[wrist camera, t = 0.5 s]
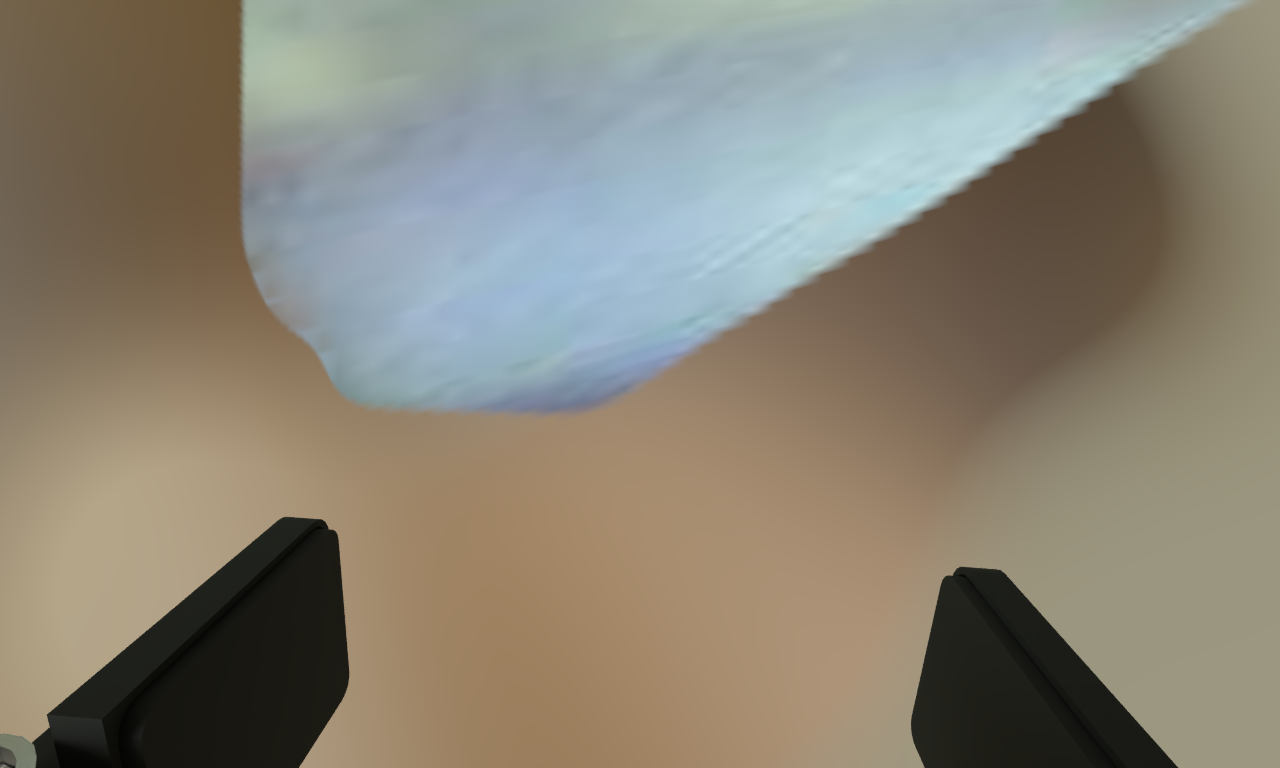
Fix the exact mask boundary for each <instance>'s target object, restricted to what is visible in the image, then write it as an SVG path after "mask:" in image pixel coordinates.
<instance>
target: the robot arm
mask: <svg viewBox="0 0 1280 768" xmlns="http://www.w3.org/2000/svg"><path fill="white" fill-rule="evenodd" d="M348 681H349V663H348V652H347V638H346V626H345V615H344V602H343V590H342V577H341V565H340V552H339V540H338V535H337V533H336V531H334V530H329V529H328V526H327V524H326V522H325V521H323V520H321V519H307V518H295V517H283V518H281V519H280V520H278V521H277V522H276V523H275V524H273V525H272V526H271V527H270V528H269V529H268V530H266V531H265V532H264V533H263V534H261V535H260V536H259V537H258V538H257V539H256V540H254V541H253V542H252V543H251V544H250V545H248V546H247V547H246V548H245V549H244V550H242V551H241V552H240V553H239V554H238V555H237V556H235V557H234V558H233V559H232V560H231V561H229V562H228V563H227V564H226V565H225V566H223V567H222V568H221V569H220V570H219V571H217V572H216V573H215V574H214V575H213V576H211V577H210V578H209V579H208V580H207V581H206V582H204V583H203V584H202V585H201V586H200V587H198V588H197V589H196V590H195V591H194V592H192V593H191V594H190V595H189V596H188V597H187V598H185V599H184V600H183V601H182V602H181V603H179V605H177V606H176V607H175V608H173V609H172V610H171V611H170V612H169V613H168V614H166V615H165V616H164V617H163V618H162V619H161V620H159V621H158V622H157V623H156V624H155V625H153V626H152V627H151V628H150V629H149V630H147V631H146V632H145V633H144V634H142V635H141V636H140V637H139V638H138V639H137V640H136V641H134V642H133V643H132V644H131V645H129V646H128V647H127V648H126V649H125V650H123V651H122V652H121V653H120V654H119V655H117V656H116V657H115V658H114V659H113V660H112V661H110V662H109V663H108V664H107V665H106V666H105V667H103V668H102V669H101V670H100V671H98V672H97V673H96V674H95V675H94V676H93V677H91V679H89V680H88V681H87V682H85V683H84V684H83V685H82V686H81V687H80V688H78V689H77V690H76V691H75V692H74V693H72V694H71V695H70V696H69V697H68V698H66V699H65V700H64V701H63V702H62V703H60V704H59V705H58V706H57V707H56V708H54V709H53V710H52V711H51V712H50V713H48V714H47V717H48V722H49V726H50V728H48V729H47V730H46V731H45V732H44V733H43V734H42V735H41V736H39V737H38V738H37V739H36V740H35V741H34V742H32V743H31V742H29V741H28V740H27V739H25V738H24V737H22V736H15V735H10V734H0V768H299V766H300V765H301V763H302V762H303V760H304V759H305V757H306V756H307V754H308V753H309V751H310V749H311V748H312V746H313V745H314V743H315V742H316V740H317V739H318V737H319V735H320V734H321V732H322V731H323V729H324V728H325V726H326V724H327V723H328V721H329V720H330V718H331V717H332V715H333V714H334V712H335V710H336V709H337V707H338V705H339V704H340V703H341V701H342V699H343V697H344V695H345V693H346V690H347V686H348ZM911 730H912V736H913V741H914V744H915V747H916V749H917V751H918V753H919V756H920V758H921V760H922V762H923V765H924V767H925V768H1178V767H1177V766H1176V765H1175V764H1174V763H1173V761H1172V760H1171V759H1170V758H1169V757H1168V756H1167V755H1166V754H1165V753H1164V751H1163V750H1162V749H1161V748H1160V747H1159V746H1158V745H1157V743H1156V742H1155V741H1154V740H1153V739H1152V738H1151V737H1150V736H1149V734H1148V733H1147V732H1146V731H1145V730H1144V729H1143V728H1142V727H1141V726H1140V724H1139V723H1138V722H1137V721H1136V720H1135V719H1134V718H1133V717H1132V716H1131V714H1130V713H1129V712H1128V711H1127V710H1126V709H1125V708H1124V707H1123V705H1122V704H1121V703H1120V702H1119V701H1118V700H1117V699H1116V698H1115V696H1114V695H1113V694H1112V693H1111V692H1110V691H1109V690H1108V689H1107V687H1106V686H1105V685H1104V684H1103V683H1102V682H1101V681H1100V680H1099V679H1098V677H1097V676H1096V675H1095V674H1094V673H1093V672H1092V671H1091V670H1090V668H1089V667H1088V666H1087V665H1086V664H1085V663H1084V662H1083V661H1082V659H1081V658H1080V657H1079V656H1078V655H1077V654H1076V653H1075V652H1074V651H1073V649H1072V648H1071V647H1070V646H1069V645H1068V644H1067V643H1066V642H1065V640H1064V639H1063V638H1062V637H1061V636H1060V635H1059V634H1058V633H1057V631H1056V630H1055V629H1054V628H1053V627H1052V626H1051V625H1050V624H1049V622H1048V621H1047V620H1046V619H1045V618H1044V617H1043V616H1042V615H1041V613H1040V612H1039V611H1038V610H1037V609H1036V608H1035V607H1034V606H1033V605H1032V603H1031V602H1030V601H1029V600H1028V599H1027V598H1026V597H1025V596H1024V595H1023V593H1022V592H1021V591H1020V590H1019V589H1018V588H1017V587H1016V585H1015V584H1014V583H1013V582H1012V581H1011V580H1010V579H1009V578H1008V577H1007V575H1006V574H1005V573H1003V572H1002V571H1001V570H996V569H983V568H970V567H959V568H957V569H956V571H955V572H954V574H953V576H946V577H945V578H944V579H943V580H942V583H941V587H940V592H939V596H938V600H937V605H936V610H935V614H934V619H933V624H932V628H931V632H930V637H929V641H928V646H927V650H926V655H925V659H924V664H923V668H922V673H921V677H920V682H919V687H918V691H917V696H916V700H915V705H914V709H913V714H912V719H911Z"/></svg>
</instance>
